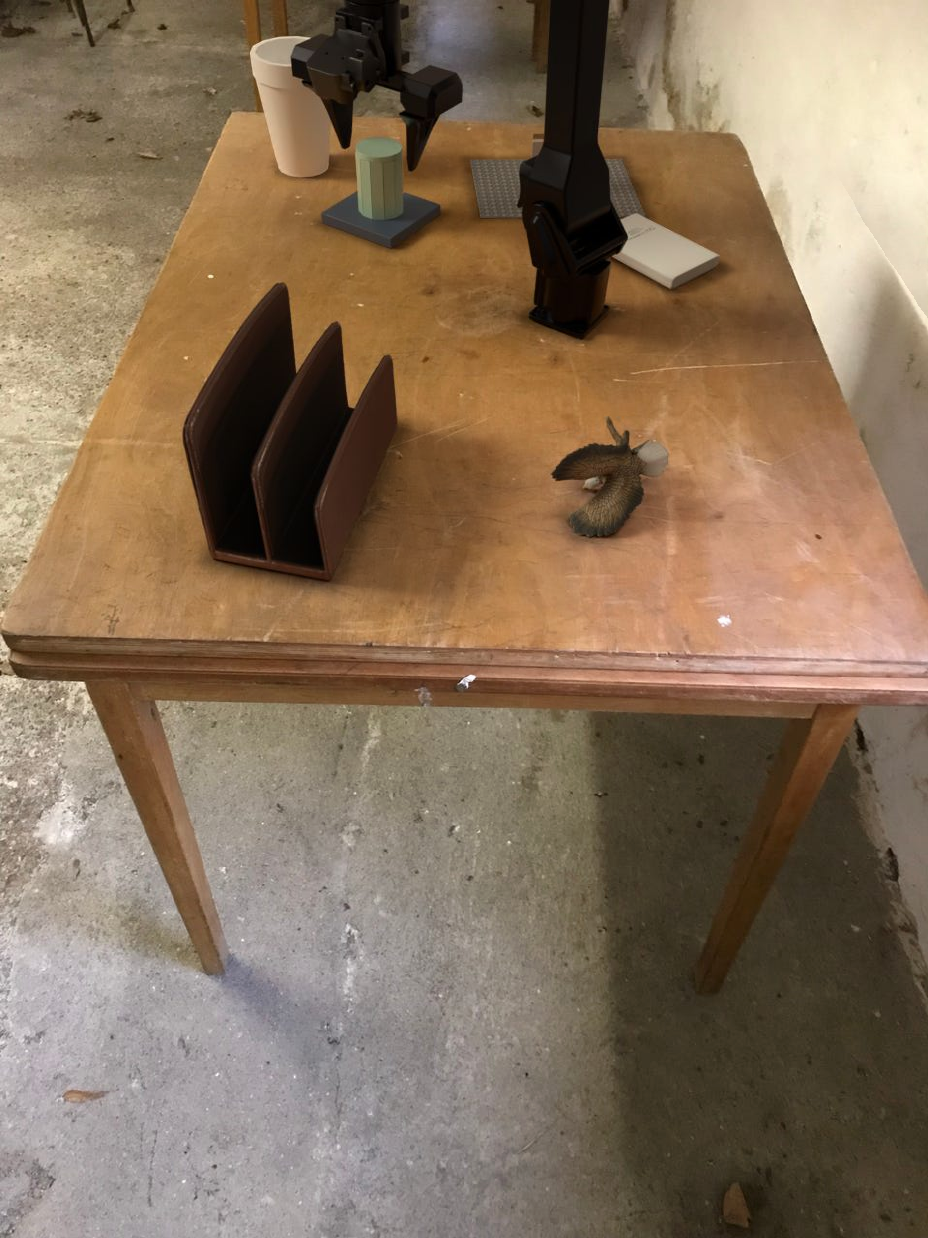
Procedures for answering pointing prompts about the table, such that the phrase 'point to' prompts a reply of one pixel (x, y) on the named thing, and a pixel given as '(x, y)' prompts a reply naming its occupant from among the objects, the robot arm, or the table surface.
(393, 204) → the mint canister
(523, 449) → the table surface
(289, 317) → the letter holder
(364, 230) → the cup stand
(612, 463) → the eagle figurine
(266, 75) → the foam cup
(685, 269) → the hard drive
